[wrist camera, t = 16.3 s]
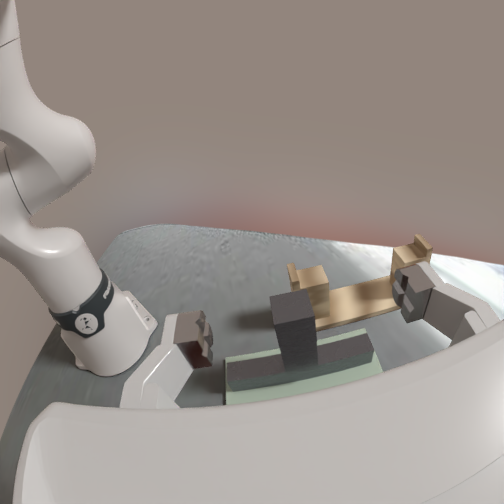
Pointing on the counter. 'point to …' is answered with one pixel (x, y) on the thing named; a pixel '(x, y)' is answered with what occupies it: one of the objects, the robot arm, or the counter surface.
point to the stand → (355, 289)
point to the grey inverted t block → (298, 349)
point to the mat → (302, 385)
